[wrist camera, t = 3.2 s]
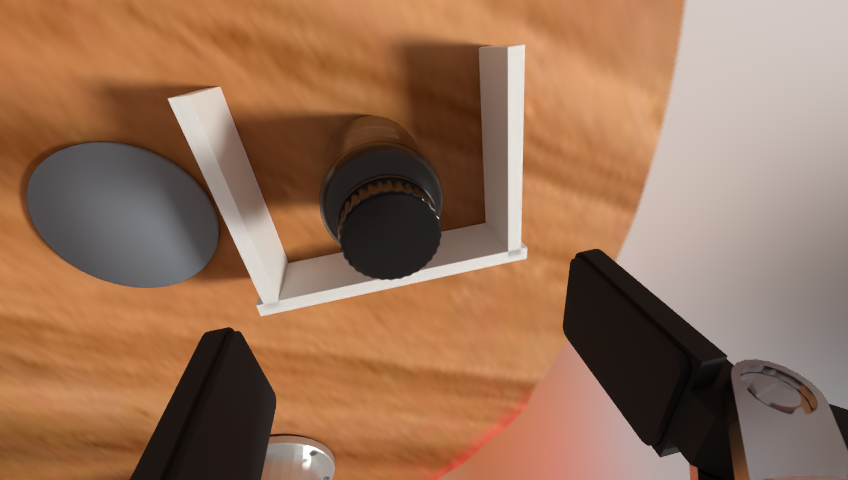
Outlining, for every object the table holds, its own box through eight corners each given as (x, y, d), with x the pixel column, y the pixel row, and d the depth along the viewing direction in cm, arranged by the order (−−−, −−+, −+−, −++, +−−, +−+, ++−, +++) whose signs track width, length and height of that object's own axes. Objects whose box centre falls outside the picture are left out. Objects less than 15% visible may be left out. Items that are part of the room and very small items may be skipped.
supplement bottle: (312, 184, 26) (288, 273, 15) (347, 96, 23) (347, 132, 13) (395, 216, 28) (421, 312, 18) (434, 140, 26) (491, 200, 16)
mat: (242, 266, 28) (240, 271, 27) (97, 296, 27) (91, 301, 26) (177, 128, 22) (173, 129, 22) (-10, 158, 21) (-19, 160, 21)
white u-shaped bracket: (502, 229, 31) (526, 258, 27) (274, 276, 29) (261, 316, 25) (499, 44, 24) (533, 43, 19) (195, 90, 22) (156, 99, 17)
